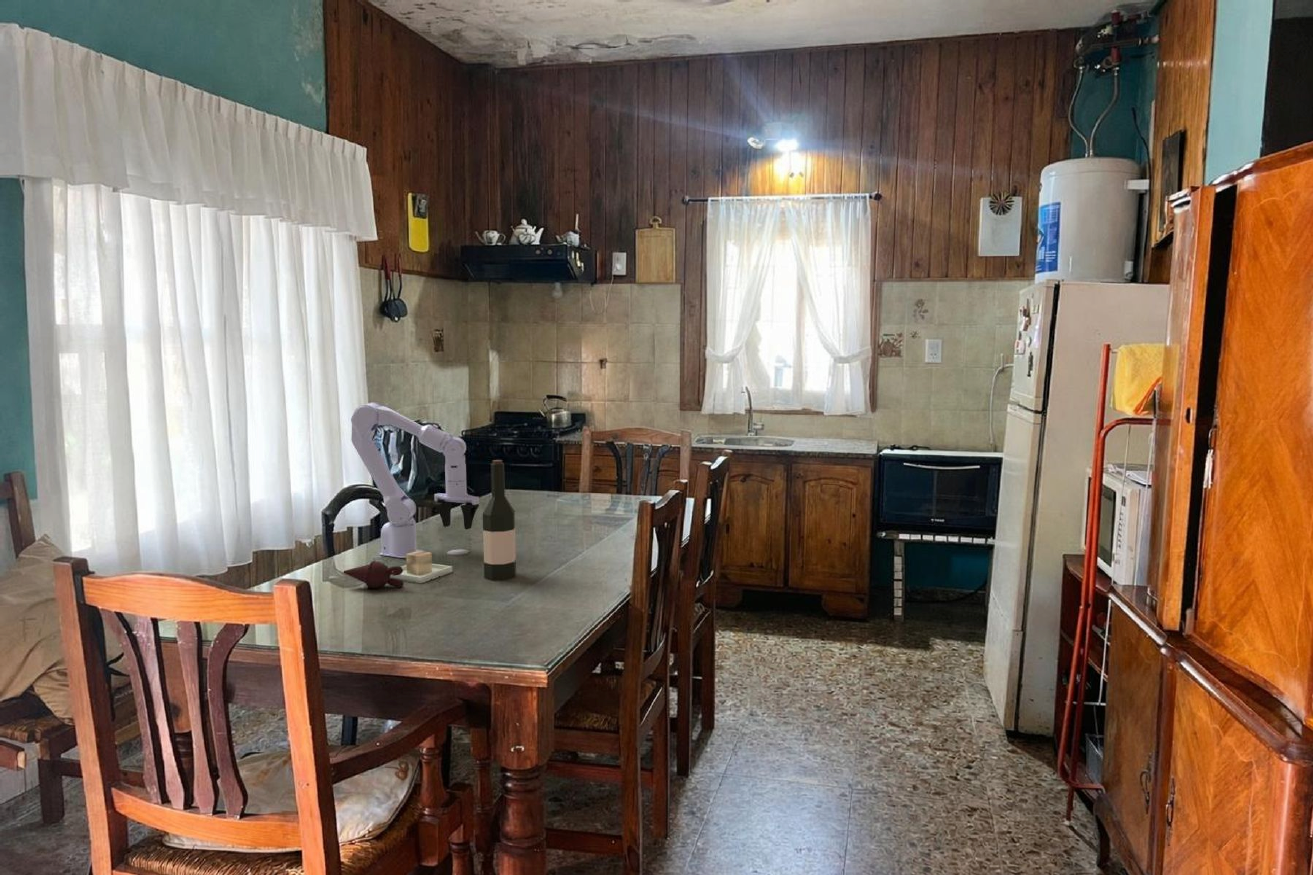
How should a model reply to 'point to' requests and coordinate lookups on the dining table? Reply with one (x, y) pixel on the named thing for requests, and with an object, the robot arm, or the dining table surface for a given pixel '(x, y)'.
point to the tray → (436, 572)
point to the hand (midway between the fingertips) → (457, 527)
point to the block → (419, 562)
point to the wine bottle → (499, 530)
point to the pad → (458, 552)
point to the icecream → (376, 575)
